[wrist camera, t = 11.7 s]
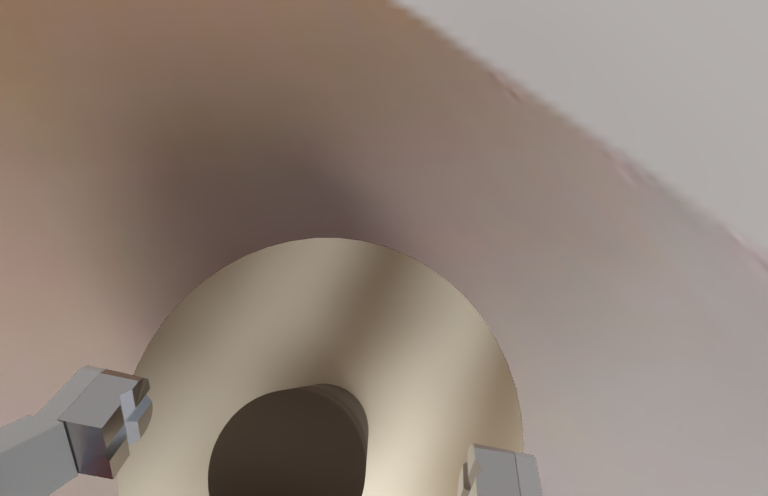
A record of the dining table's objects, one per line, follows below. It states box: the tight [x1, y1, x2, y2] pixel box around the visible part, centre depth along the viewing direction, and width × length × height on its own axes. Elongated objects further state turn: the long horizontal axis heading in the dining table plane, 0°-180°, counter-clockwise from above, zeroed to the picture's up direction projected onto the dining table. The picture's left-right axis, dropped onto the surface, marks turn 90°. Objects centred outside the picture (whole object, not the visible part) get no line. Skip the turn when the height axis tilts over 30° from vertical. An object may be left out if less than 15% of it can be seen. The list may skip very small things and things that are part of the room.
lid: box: [116, 238, 524, 496], centre depth 14 cm, size 14×14×8 cm
